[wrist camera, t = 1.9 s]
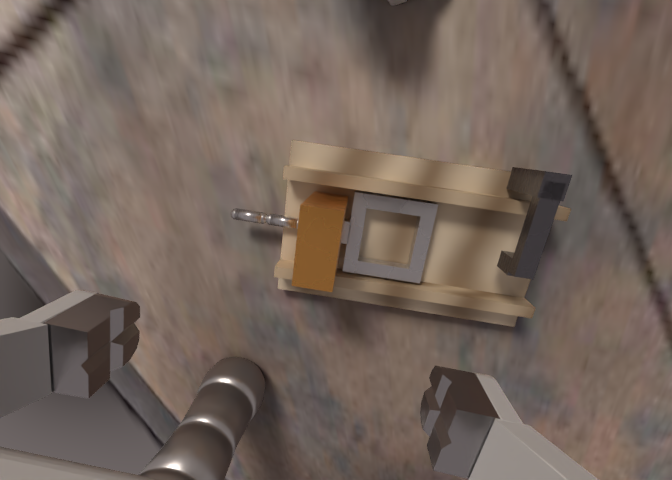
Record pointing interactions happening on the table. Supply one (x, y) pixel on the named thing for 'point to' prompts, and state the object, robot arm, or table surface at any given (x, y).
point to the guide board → (398, 230)
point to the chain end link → (347, 237)
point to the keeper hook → (533, 218)
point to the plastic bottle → (211, 424)
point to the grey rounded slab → (396, 2)
